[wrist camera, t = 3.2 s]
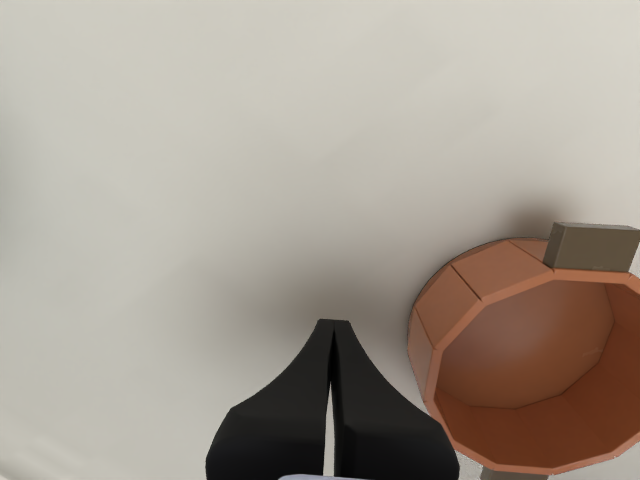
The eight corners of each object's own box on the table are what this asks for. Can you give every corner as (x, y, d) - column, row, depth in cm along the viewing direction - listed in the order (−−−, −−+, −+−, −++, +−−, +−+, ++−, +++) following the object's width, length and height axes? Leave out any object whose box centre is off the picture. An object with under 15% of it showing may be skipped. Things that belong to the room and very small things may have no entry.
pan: (393, 419, 17) (406, 487, 14) (427, 199, 13) (456, 221, 10) (568, 432, 17) (624, 505, 14) (655, 211, 13) (763, 238, 10)
